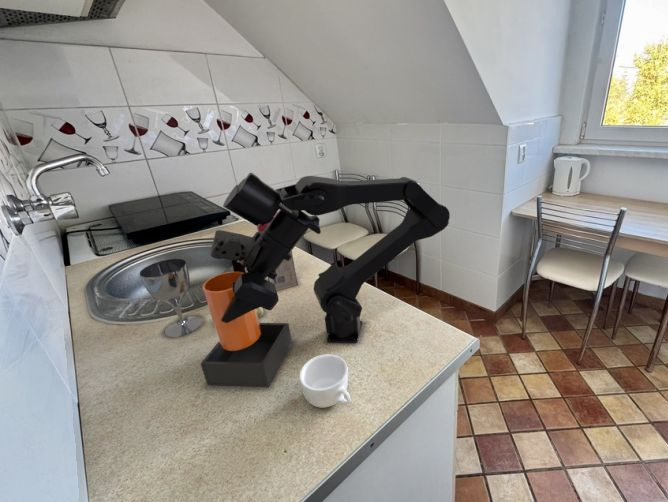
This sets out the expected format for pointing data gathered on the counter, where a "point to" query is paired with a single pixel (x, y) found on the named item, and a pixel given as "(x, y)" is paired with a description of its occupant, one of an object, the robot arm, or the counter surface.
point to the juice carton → (282, 269)
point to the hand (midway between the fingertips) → (224, 310)
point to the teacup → (325, 380)
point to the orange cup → (218, 300)
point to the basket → (249, 359)
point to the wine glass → (171, 291)
